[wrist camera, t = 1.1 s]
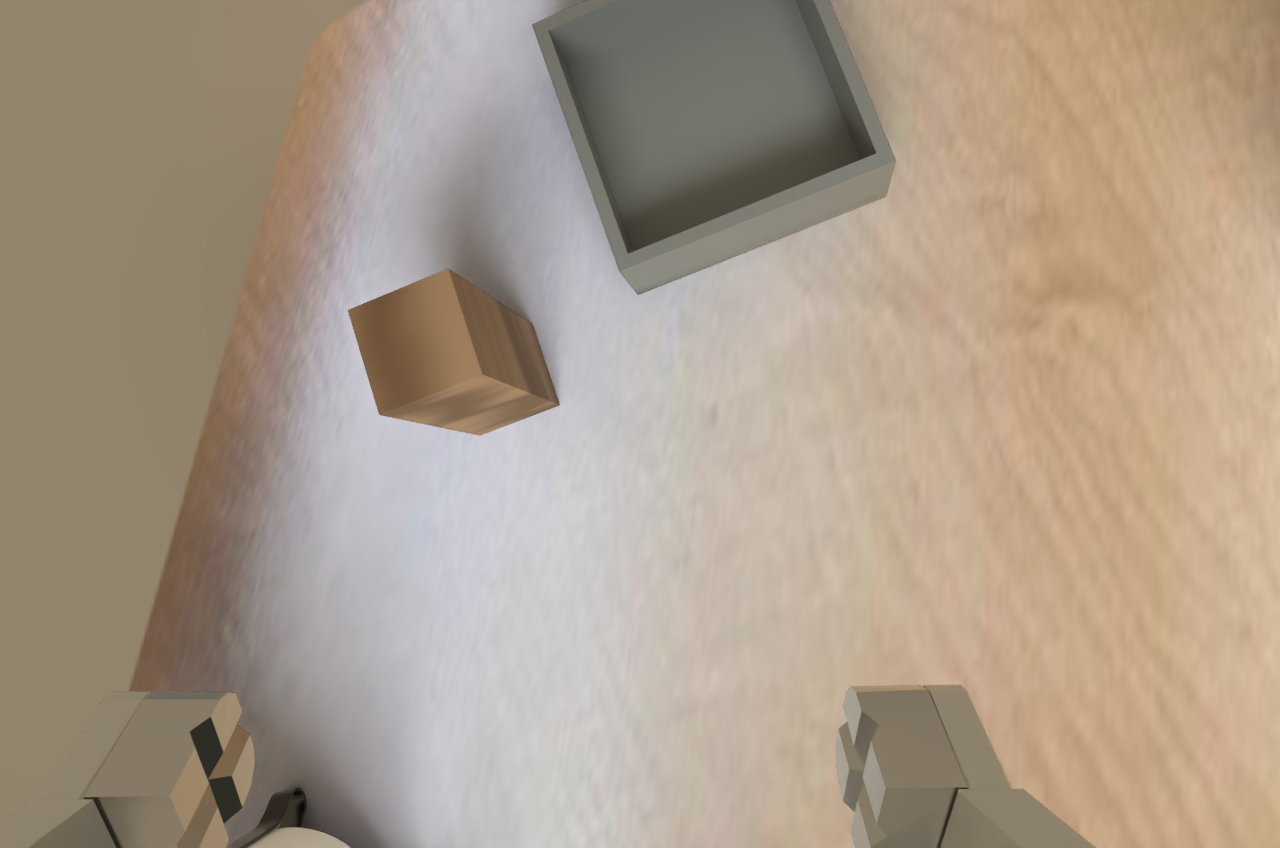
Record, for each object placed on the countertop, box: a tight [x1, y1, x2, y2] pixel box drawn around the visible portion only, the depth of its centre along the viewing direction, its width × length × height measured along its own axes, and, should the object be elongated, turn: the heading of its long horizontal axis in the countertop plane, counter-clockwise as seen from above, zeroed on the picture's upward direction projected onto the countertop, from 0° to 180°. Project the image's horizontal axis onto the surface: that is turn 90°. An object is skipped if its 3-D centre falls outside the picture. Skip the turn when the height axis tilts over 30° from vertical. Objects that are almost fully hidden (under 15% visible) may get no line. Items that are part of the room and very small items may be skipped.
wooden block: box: [348, 269, 559, 435], centre depth 43 cm, size 5×5×12 cm
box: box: [532, 0, 896, 295], centre depth 46 cm, size 14×14×5 cm
